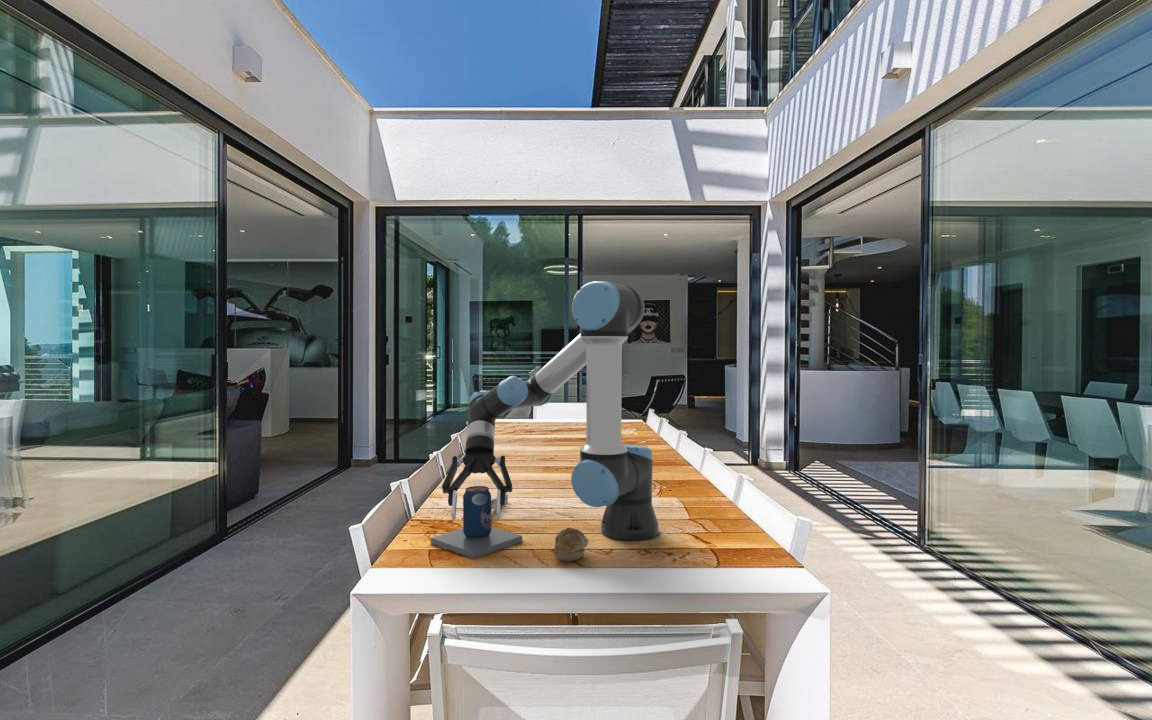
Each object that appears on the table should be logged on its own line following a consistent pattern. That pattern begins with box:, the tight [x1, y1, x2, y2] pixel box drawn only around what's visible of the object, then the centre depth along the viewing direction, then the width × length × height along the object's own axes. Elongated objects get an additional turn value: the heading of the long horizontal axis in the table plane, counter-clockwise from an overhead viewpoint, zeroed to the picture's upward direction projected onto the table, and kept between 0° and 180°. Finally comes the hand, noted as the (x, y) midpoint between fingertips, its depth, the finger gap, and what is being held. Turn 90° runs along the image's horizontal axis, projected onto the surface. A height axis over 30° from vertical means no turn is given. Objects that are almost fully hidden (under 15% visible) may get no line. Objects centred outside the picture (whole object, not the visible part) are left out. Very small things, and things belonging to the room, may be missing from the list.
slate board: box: [430, 526, 523, 559], centre depth 153 cm, size 16×16×2 cm
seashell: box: [553, 527, 589, 562], centre depth 143 cm, size 9×7×8 cm
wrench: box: [491, 493, 509, 511], centre depth 178 cm, size 8×2×30 cm
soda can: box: [462, 485, 492, 540], centre depth 153 cm, size 7×7×12 cm
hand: (475, 516), depth 150 cm, fingers open, 10 cm apart
